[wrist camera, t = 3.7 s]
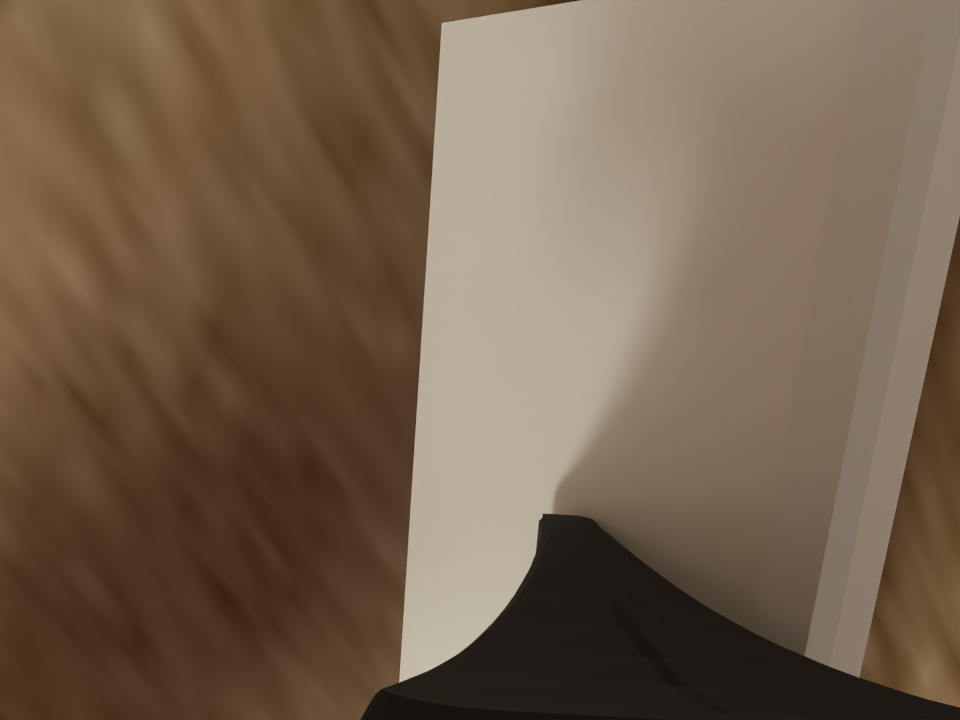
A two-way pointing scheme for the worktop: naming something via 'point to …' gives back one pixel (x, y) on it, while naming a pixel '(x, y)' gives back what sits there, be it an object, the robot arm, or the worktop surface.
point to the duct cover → (681, 302)
